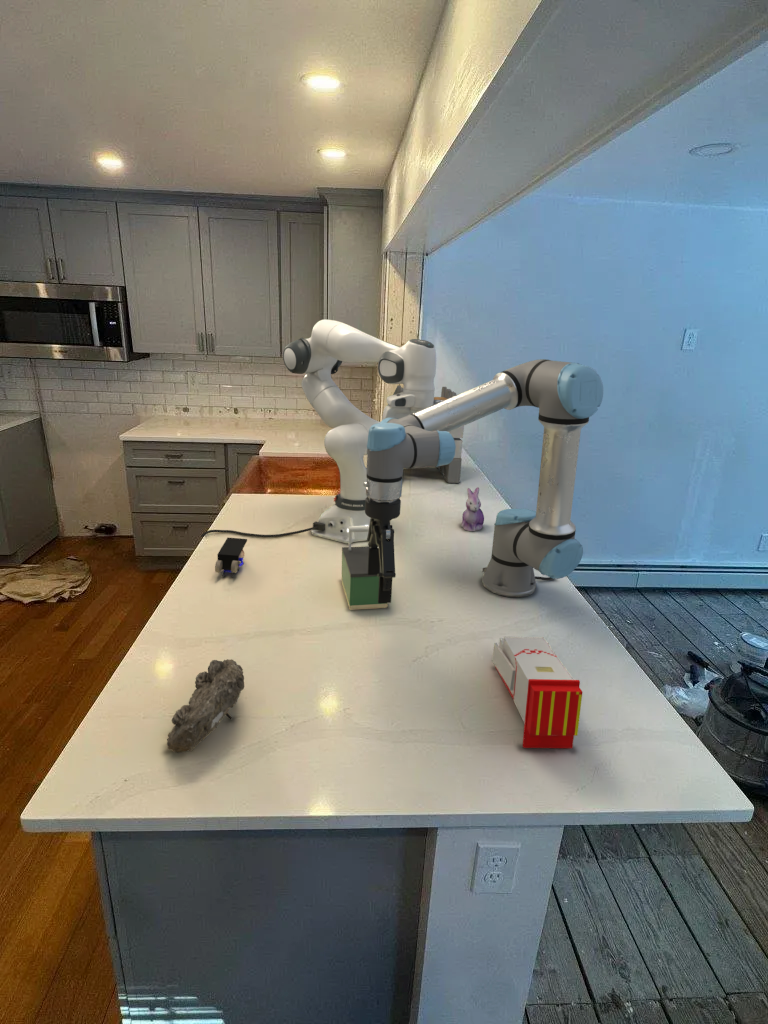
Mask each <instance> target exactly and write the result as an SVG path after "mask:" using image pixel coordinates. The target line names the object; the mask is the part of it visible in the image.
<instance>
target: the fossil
mask: <svg viewBox="0 0 768 1024" xmlns="http://www.w3.org/2000/svg"><path fill="white" fill-rule="evenodd" d="M243 670H244V669H243V667H242V665H240V664H237V662H236V661H235V660H234V659H232V658H231V659H227V658H226V659H224V660H223V661H222V660H217V659H212V660H211V661H210V663H209V665H208V666H207V671H201V672H199V673H198V674H197V675H196V676H195V680H194V684H195V685H194V687H195V689H194V690H193V693H192V694H191V697H190V698H189V700H188V704H184V705H182V706H181V707H180V709H177V710H176V711H175V713H174V715H173V716H172V718H171V723H172V724H173V727H172V730H171V731H170V732H168V734H167V738H166V741H167V742H166V745H167V749H168V750H169V751H173V752H174V753H176V754H178V753H182V752H188V751H189V752H192V751H193V750H195V748H196V747H197V746H199V744H200V743H201V742H203V741H204V740H205V739H206V738H207V737H208V736H209V735H210V734H211V733H212V732H214V730H215V729H217V727H218V726H219V724H220V722H221V721H222V720H223V719H224V718H225V716H226V717H227V719H229V720H233V717H232V715H230V714H229V710H230V709H231V708H234V706H235V704H236V703H237V702H238V699H239V697H240V695H241V693H242V691H243V690H245V689H244V688H245V675H244V671H243Z"/></svg>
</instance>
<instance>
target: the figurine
mask: <svg viewBox="0 0 768 1024" xmlns="http://www.w3.org/2000/svg"><path fill="white" fill-rule="evenodd" d="M466 491H467V493H466V494H467V499H466V501H465V507H466V509H465V510H464V511H463V513H462V516H461V517H462V518H461V519H462V520H461V527H462V528H463V530H464V531H469V532H475V531H480V530H481V529H482V528H484V523H485V515H484V512H483V510H482V509H481V507H482V502H481V499H480V497H479V494H480V488H479V487H478V486H477V487H476V488H475V489H474V490H473V491H472V490H471V488H469V487H468V488H467V489H466Z"/></svg>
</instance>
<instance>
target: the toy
mask: <svg viewBox="0 0 768 1024" xmlns="http://www.w3.org/2000/svg"><path fill="white" fill-rule="evenodd" d="M491 662H492V663H493V665H494V667H495V669H496V671H497V673H498V675H499V676H500V678H501V680H502V683H503V684H504V686H505V688H506V689H507V691H508V693H509V695H510V697H511V698H512V700H513V702H514V705H515V707H516V709H517V711H518V713H519V715H520V717H521V719H522V722H523V724H524V725H523V736H522V748H524V749H573V747H574V738H575V736H577V737H578V734H579V725H580V717H581V710H582V709H581V708H582V701H583V700H582V699H583V690H582V689H581V688H580V685H581V681H580V679H574V677H573V676H572V675H571V673H570V672H569V670H568V669H567V668H566V667H565V665H564V664H563V662H562V661H561V660H560V658H559V657H558V656H557V654H556V653H555V651H554V650H553V649H552V647H551V645H550V643H549V642H547V640H546V639H545V637H543V636H542V637H541V636H535V637H534V636H503V637H500V638H499V642H498V643H497V642H494V643H493V649H492V657H491Z"/></svg>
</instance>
